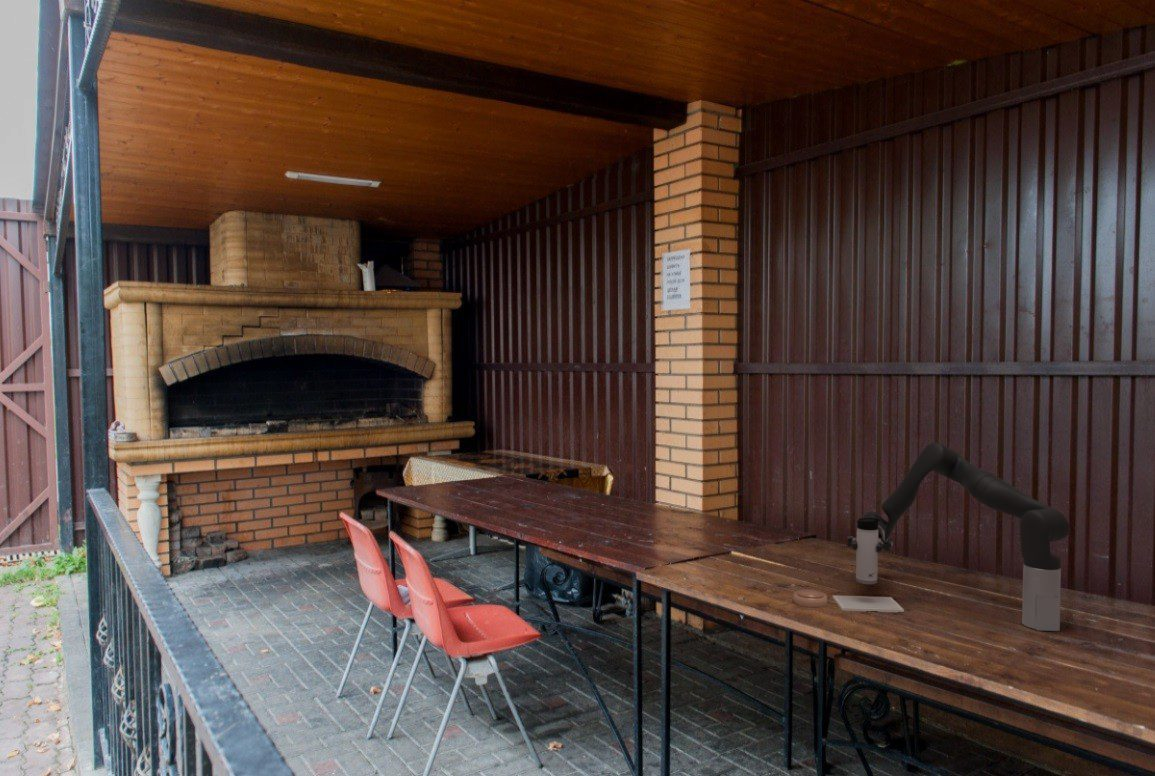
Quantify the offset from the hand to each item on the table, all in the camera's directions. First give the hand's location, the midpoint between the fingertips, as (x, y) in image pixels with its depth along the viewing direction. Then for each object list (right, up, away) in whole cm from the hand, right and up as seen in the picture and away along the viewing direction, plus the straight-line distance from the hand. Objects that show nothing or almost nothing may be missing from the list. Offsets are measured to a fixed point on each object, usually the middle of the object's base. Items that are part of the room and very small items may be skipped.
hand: (866, 548), depth 246 cm
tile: (+1, -18, +2) cm, 18 cm away
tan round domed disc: (-16, -18, +4) cm, 24 cm away
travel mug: (+1, -11, +3) cm, 11 cm away
